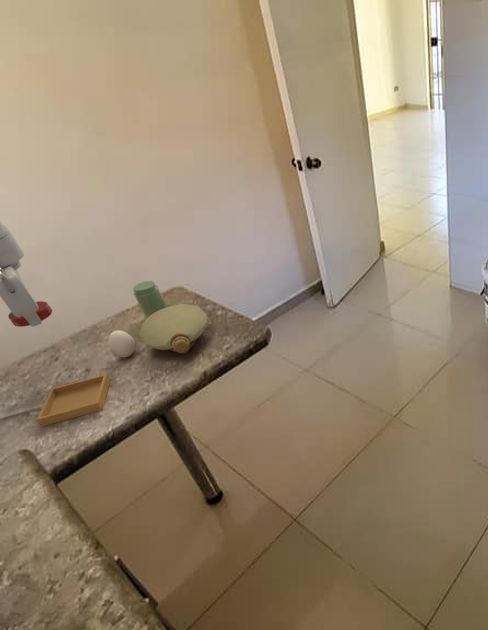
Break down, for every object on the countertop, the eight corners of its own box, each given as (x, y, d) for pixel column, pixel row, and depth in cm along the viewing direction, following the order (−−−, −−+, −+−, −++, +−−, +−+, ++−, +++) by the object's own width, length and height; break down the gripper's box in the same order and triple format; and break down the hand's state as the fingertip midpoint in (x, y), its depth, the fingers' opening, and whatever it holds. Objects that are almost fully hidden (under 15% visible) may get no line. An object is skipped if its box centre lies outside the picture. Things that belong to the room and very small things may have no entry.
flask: (207, 317, 121) (223, 351, 109) (144, 339, 114) (155, 378, 102) (195, 289, 115) (211, 322, 103) (129, 311, 109) (138, 349, 96)
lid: (56, 305, 90) (51, 298, 89) (47, 321, 85) (42, 313, 84) (20, 313, 88) (14, 306, 87) (8, 330, 83) (2, 322, 82)
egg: (140, 357, 108) (126, 333, 104) (116, 364, 106) (101, 341, 102) (139, 346, 112) (127, 323, 108) (116, 353, 110) (102, 330, 106)
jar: (147, 326, 120) (130, 293, 114) (148, 315, 124) (131, 283, 118) (170, 319, 122) (155, 287, 116) (170, 309, 126) (155, 277, 120)
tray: (42, 426, 91) (36, 419, 89) (56, 394, 99) (50, 388, 97) (102, 409, 94) (97, 402, 93) (111, 380, 102) (106, 373, 100)
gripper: (21, 263, 74) (63, 328, 82) (1, 234, 86) (40, 294, 94) (-26, 278, 70) (23, 345, 78) (-40, 246, 83) (4, 306, 90)
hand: (32, 316), depth 86 cm, fingers closed on lid, 6 cm apart
